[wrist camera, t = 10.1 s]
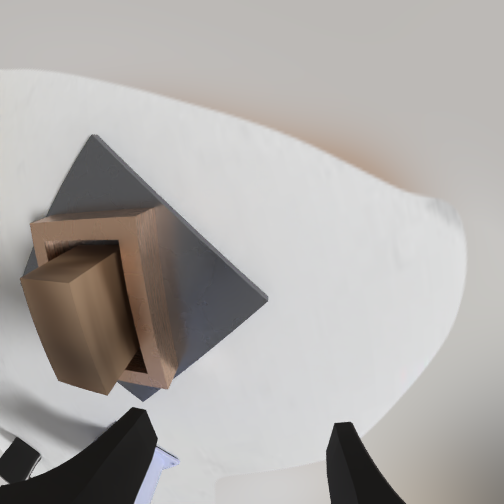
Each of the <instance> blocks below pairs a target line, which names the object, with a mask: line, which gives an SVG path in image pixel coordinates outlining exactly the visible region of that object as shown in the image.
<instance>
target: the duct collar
mask: <svg viewBox="0 0 504 504" xmlns="http://www.w3.org/2000/svg"><path fill="white" fill-rule="evenodd" d="M30 227H31V233H32V238H33V244H34V247H33V250H32V252H31V255H30V258H29V260H28V263H27V266H26V269H25V271H24V274H23V276H24V275H26V274H28V273H30V272H31V271H33V270H35V269H36V268H38V267H40V266H42V265H43V264H45V263H47V262H49V261H50V260H52V259H54V258H56V257H58V256H60V255H61V254H63V253H65V252H67V251H69V250H71V249H72V248H74V247H76V246H78V245H119V246H120V253H121V259H122V265H123V271H124V277H125V282H126V287H127V292H128V297H129V302H130V307H131V311H132V316H133V320H134V324H135V328H136V332H137V336H138V340H139V344H140V348H139V349H138V351H137V352H136V354H135V355H134V357H133V358H132V360H131V361H130V363H129V364H128V365H127V367H126V368H125V370H124V371H123V373H122V374H121V376H120V377H119V379H118V380H117V382H118V383H119V384H121V385H122V386H123V387H124V388H126V389H127V390H128V391H129V392H131V393H132V394H133V395H135V396H136V397H137V398H139V399H140V400H141V401H143V402H144V401H145V400H146V399H148V398H149V397H150V396H152V395H153V394H154V393H156V392H157V391H158V390H160V389H161V388H163V389H168V388H169V386H170V384H171V382H172V380H173V379H174V378H175V377H176V376H178V375H179V374H180V373H182V372H183V371H184V370H185V369H187V368H188V367H189V366H190V365H192V364H193V363H194V362H195V361H197V360H198V359H199V358H200V357H202V356H203V355H204V354H205V353H207V352H208V351H209V350H210V349H212V348H213V347H214V346H215V345H216V344H218V343H219V342H220V341H221V340H223V339H224V338H225V337H226V336H227V335H229V334H230V333H231V332H232V331H233V330H235V329H236V328H237V327H238V326H239V325H241V324H242V323H243V322H244V321H245V320H247V319H248V318H249V317H250V316H251V315H252V314H254V313H255V312H256V311H257V310H258V309H259V308H261V307H262V306H263V305H264V304H265V303H266V302H268V296H267V295H266V294H265V293H264V292H262V291H261V290H260V289H259V288H258V287H257V286H256V285H255V284H254V283H253V282H251V281H250V280H249V279H248V278H247V277H246V276H245V275H244V274H243V273H242V272H241V271H239V270H238V269H237V268H236V267H235V266H234V265H233V264H232V263H231V262H230V261H229V260H227V259H226V258H225V257H224V256H223V255H222V254H221V253H220V252H219V251H218V250H217V249H216V248H214V247H213V246H212V245H211V244H210V243H209V242H208V241H207V240H206V239H205V238H204V237H203V236H202V235H201V234H199V233H198V232H197V231H196V230H195V229H194V228H193V227H192V226H191V225H190V224H189V223H188V222H187V221H186V220H185V219H184V218H182V217H181V216H180V215H179V214H178V213H177V212H176V211H175V210H174V209H173V208H172V207H171V206H170V205H169V204H168V203H167V202H166V201H165V200H164V199H162V198H161V197H160V196H159V195H158V194H157V193H156V192H155V191H154V190H153V189H152V188H151V187H150V186H149V185H148V184H147V183H146V182H145V181H144V180H143V179H142V178H141V177H140V176H139V175H138V174H136V173H135V172H134V171H133V170H132V169H131V168H130V167H129V166H128V165H127V164H126V163H125V162H124V161H123V160H122V159H121V158H120V157H119V156H118V155H117V154H116V153H115V152H114V151H113V150H112V149H111V148H110V147H109V146H108V145H107V144H106V143H105V142H104V141H103V140H102V139H101V138H100V137H99V136H98V135H91V137H90V138H89V140H88V141H87V143H86V145H85V146H84V148H83V149H82V151H81V153H80V154H79V156H78V158H77V159H76V161H75V163H74V164H73V166H72V168H71V170H70V171H69V173H68V175H67V177H66V179H65V181H64V182H63V184H62V186H61V188H60V190H59V192H58V194H57V196H56V198H55V200H54V202H53V204H52V206H51V208H50V210H49V212H48V214H47V217H46V218H43V219H40V220H38V221H35V222H32V223H30ZM20 284H21V283H20ZM21 285H22V284H21Z"/></svg>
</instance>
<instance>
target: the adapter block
mask: <svg viewBox="0 0 504 504" xmlns="http://www.w3.org/2000/svg"><path fill="white" fill-rule="evenodd" d="M20 280H21V284H22V287H23V291H24V294H25V297H26V301H27V304H28V307H29V310H30V313H31V316H32V319H33V322H34V324H35V327H36V330H37V333H38V335H39V338H40V340H41V343H42V345H43V348H44V350H45V352H46V355H47V357H48V359H49V362H50V364H51V366H52V368H53V370H54V373H55V375H56V377H57V379H58V381H61V382H64V383H67V384H70V385H73V386H76V387H79V388H83V389H86V390H89V391H93V392H96V393H100V394H104V395H107V396H108V394H109V393H110V391H111V390H112V388H113V387H114V385H115V384H116V382H117V380H118V379H119V377H120V376H121V374H122V373H123V371H124V370H125V368H126V367H127V365H128V364H129V363H130V361H131V360H132V358H133V357H134V355H135V354H136V352H137V351H138V349H139V348H140V344H139V340H138V336H137V332H136V328H135V324H134V320H133V316H132V311H131V307H130V302H129V297H128V292H127V287H126V282H125V277H124V271H123V265H122V259H121V253H120V246H119V245H78V246H76V247H74V248H72V249H71V250H69V251H67V252H65V253H63V254H61V255H60V256H58V257H56V258H54V259H52V260H50V261H49V262H47V263H45V264H43V265H42V266H40V267H38V268H36V269H35V270H33V271H31V272H30V273H28V274H26V275H24V276H23V277H21V278H20Z"/></svg>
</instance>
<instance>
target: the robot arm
mask: <svg viewBox="0 0 504 504" xmlns="http://www.w3.org/2000/svg"><path fill="white" fill-rule="evenodd" d="M157 440H158V438H157V436H156V433H155V431H154V429H153V426H152V424H151V421H150V419H149V417H148V414H147V411H146V410H144V409H139V408H135V407H132V408H131V409H130V410H129V411H128V412H126V413H125V414H124V415H123V416H122V417H121V418H120V419H119V420H118V421H117V422H116V423H115V424H114V425H113V426H111V427H110V428H109V429H108V430H107V431H106V432H105V433H104V434H102V435H101V436H100V437H99V438H98V439H96V440H95V441H94V442H93V443H92V444H91V445H89V446H88V447H87V448H85V449H84V450H83V451H81V452H80V453H79V454H77V455H76V456H74V457H73V458H71V459H70V460H68V461H66V462H65V463H63V464H61V465H60V466H58V467H56V468H54V469H52V470H50V471H48V472H46V473H43V474H41V475H38V476H35V477H33V478H30V479H27V480H24V481H20V482H16V483H12V484H7V485H1V487H0V504H150V503H151V500H152V498H153V495H154V492H155V489H156V486H157V484H158V481H159V478H160V475H161V472H162V470H164V469H167V468H170V467H173V466H176V465H178V464H179V463H180V461H179V460H178V459H176V458H174V457H173V456H171V455H169V454H168V453H166V452H164V451H162V450H161V449H159V448H158V447H156V444H157ZM326 461H327V478H328V485H329V492H330V499H331V504H406V503H405V502H404V501H403V500H402V499H401V498H400V497H399V495H398V494H397V493H396V492H395V491H394V490H393V488H392V487H391V486H390V485H389V483H388V482H387V481H386V479H385V478H384V477H383V475H382V474H381V472H380V471H379V469H378V468H377V466H376V465H375V463H374V462H373V460H372V459H371V457H370V455H369V454H368V452H367V450H366V449H365V447H364V445H363V443H362V442H361V439H360V438H359V436H358V434H357V432H356V430H355V428H354V425H353V423H351V422H342V423H334V427H333V430H332V434H331V437H330V440H329V444H328V447H327V450H326Z"/></svg>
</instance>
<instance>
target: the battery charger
mask: <svg viewBox="0 0 504 504" xmlns="http://www.w3.org/2000/svg"><path fill="white" fill-rule="evenodd" d="M40 459H41V455H40V454H39V453H38V452H36V451H35V450H34V449H32V448H31V447H30V446H28V445H27V444H26V443H24V442H23V441H22V440H20V439H19V438H17V437H16V438H15V440H14V441H13V443H12V444H11V445H10V447H9V448H8V449H7V450H6V451H5V453H4V454H3V455H2V457H1V458H0V477H1V478H2V479H4V480H5V481H6V482H7V483H8V484H12V483H16V482H20V481H24V480H27V479H30V478H31V477H30V475H31V473H32V471H33V470H34V468H35V466H36V465H37V463H38V462H39V461H40Z"/></svg>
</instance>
